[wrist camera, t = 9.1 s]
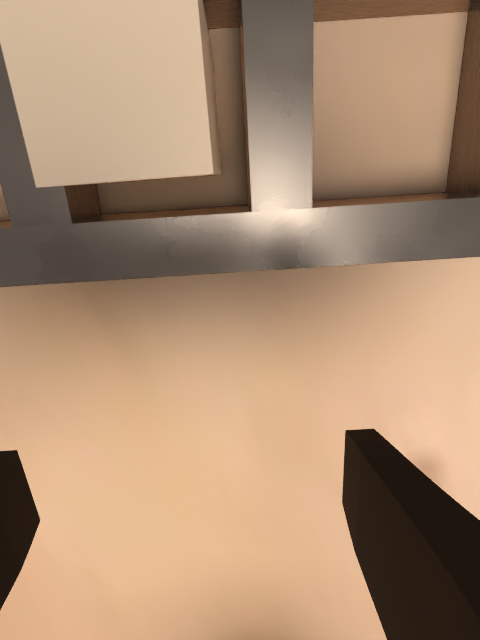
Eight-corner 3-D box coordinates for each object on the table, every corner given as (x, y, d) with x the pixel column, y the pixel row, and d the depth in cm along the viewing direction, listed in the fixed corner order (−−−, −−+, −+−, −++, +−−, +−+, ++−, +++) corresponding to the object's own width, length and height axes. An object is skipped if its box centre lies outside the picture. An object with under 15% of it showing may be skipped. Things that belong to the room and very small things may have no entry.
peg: (121, 182, 15) (35, 187, 9) (101, 63, 14) (-20, -38, 7) (222, 174, 15) (213, 173, 9) (212, 55, 14) (192, -56, 7)
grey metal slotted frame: (-123, 278, 16) (-197, 299, 13) (-243, -14, 13) (-379, -67, 10) (487, 239, 16) (540, 252, 13) (539, -68, 13) (627, -138, 10)
